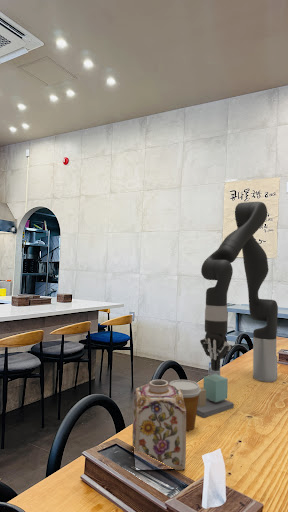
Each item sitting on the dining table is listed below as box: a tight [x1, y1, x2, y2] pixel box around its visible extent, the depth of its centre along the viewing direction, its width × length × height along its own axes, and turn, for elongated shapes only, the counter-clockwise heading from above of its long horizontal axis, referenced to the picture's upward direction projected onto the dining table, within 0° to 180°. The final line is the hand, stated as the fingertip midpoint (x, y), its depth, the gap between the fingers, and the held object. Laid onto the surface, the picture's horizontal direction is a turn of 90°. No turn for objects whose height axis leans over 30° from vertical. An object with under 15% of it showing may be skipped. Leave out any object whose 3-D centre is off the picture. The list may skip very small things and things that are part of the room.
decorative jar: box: [132, 379, 187, 471], centre depth 83 cm, size 12×12×18 cm
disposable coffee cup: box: [168, 379, 201, 432], centre depth 99 cm, size 10×10×12 cm
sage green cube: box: [202, 374, 229, 402], centre depth 115 cm, size 6×6×7 cm
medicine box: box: [207, 361, 221, 376], centre depth 132 cm, size 8×4×9 cm, turn 168°
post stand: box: [196, 387, 235, 419], centre depth 113 cm, size 14×10×8 cm
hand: (215, 370), depth 115 cm, fingers closed
